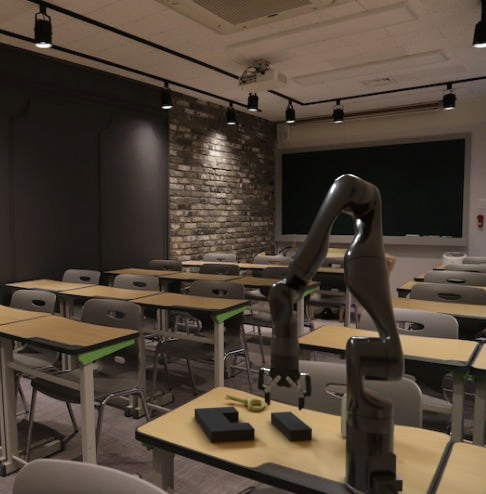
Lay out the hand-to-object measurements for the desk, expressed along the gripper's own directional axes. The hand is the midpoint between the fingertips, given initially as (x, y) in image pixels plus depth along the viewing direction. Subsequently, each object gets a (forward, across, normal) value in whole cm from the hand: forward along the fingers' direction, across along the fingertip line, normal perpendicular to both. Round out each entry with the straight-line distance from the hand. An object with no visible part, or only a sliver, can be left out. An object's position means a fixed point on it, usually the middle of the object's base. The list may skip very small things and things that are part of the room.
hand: (284, 407), depth 138 cm
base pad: (+6, +15, +9) cm, 19 cm away
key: (+6, +13, -11) cm, 18 cm away
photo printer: (+6, -18, -3) cm, 20 cm away
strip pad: (+6, -2, +3) cm, 6 cm away
